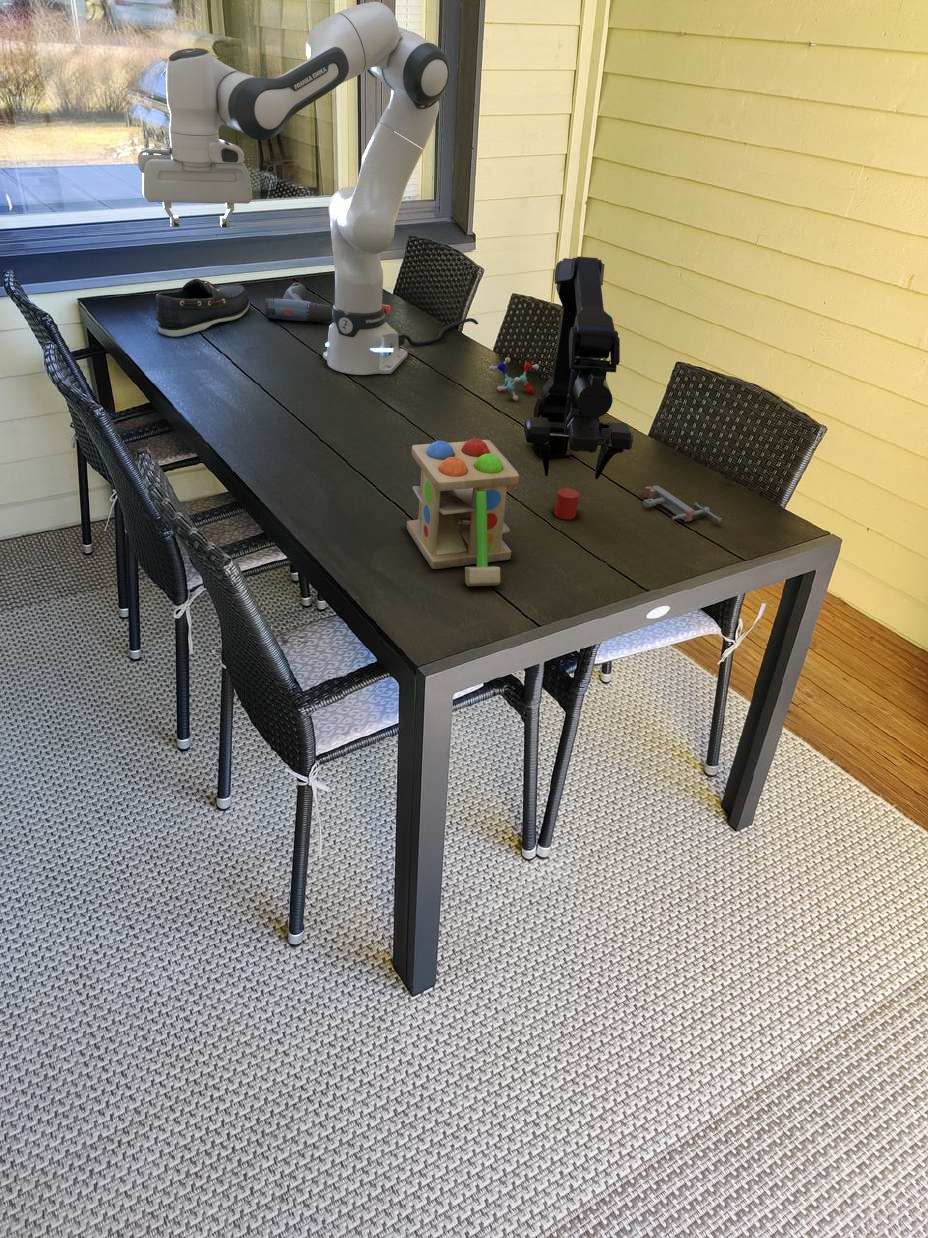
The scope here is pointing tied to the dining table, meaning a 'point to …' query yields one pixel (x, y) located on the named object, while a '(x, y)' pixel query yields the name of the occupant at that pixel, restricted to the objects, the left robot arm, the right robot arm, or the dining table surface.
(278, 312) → the power drill
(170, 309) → the boat shoe
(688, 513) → the clamp
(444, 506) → the pounding bench toy
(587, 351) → the right robot arm
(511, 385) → the molecular model
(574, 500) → the can
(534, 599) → the dining table surface
